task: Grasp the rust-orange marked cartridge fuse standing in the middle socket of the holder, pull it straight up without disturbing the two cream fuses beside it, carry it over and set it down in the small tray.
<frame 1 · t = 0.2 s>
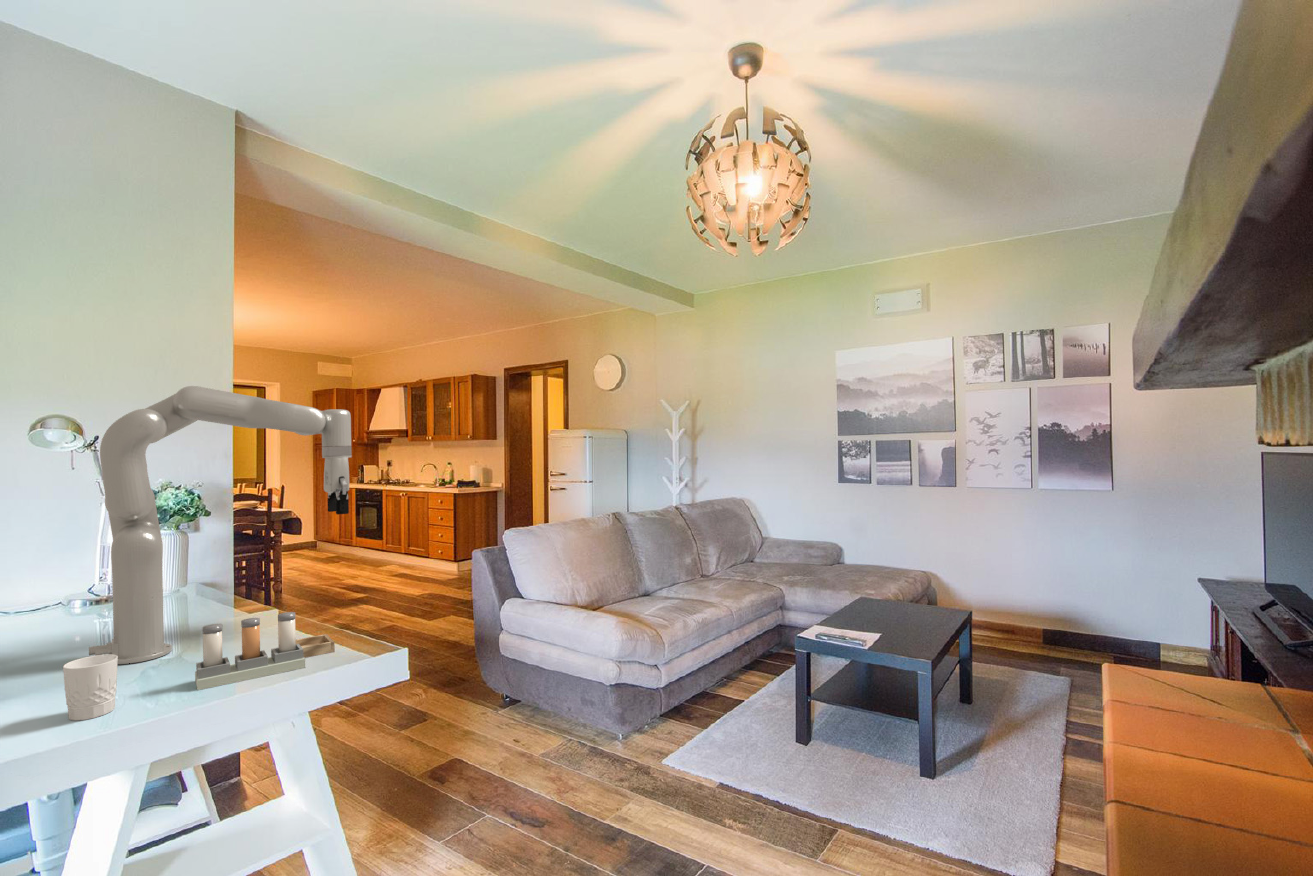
hand: (338, 512, 185), 31 cm above the table, fingers open, 9 cm apart
white cup: (91, 714, 124), on the table
tray: (311, 651, 158), on the table
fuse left: (213, 672, 139), point 2 cm above the table, touching fuse holder
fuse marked: (251, 665, 143), point 2 cm above the table, touching fuse holder
fuse holder: (251, 674, 143), on the table
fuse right: (287, 657, 148), point 2 cm above the table, touching fuse holder
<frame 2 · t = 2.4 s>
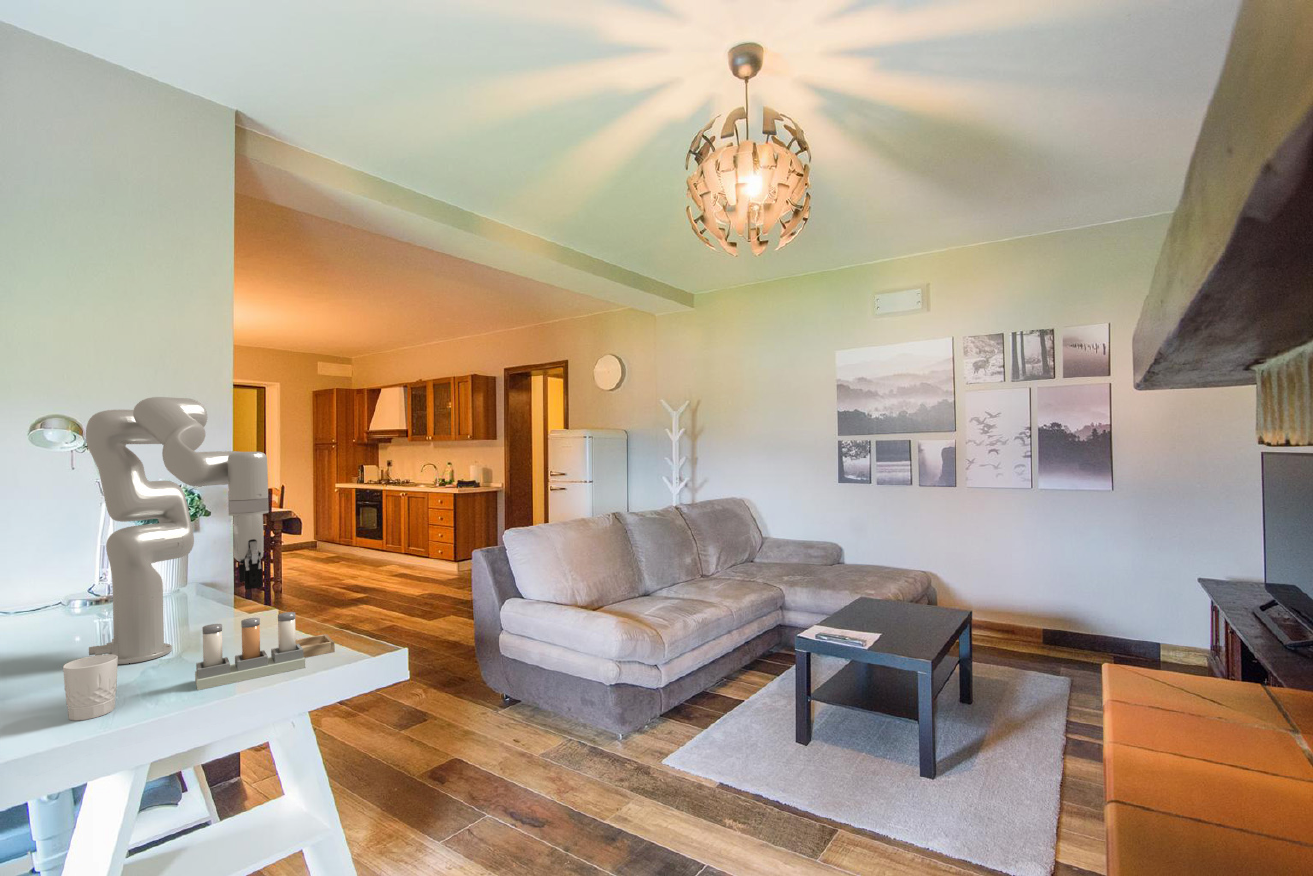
hand: (250, 584, 143), 20 cm above the table, fingers open, 9 cm apart
nothing on the table moved.
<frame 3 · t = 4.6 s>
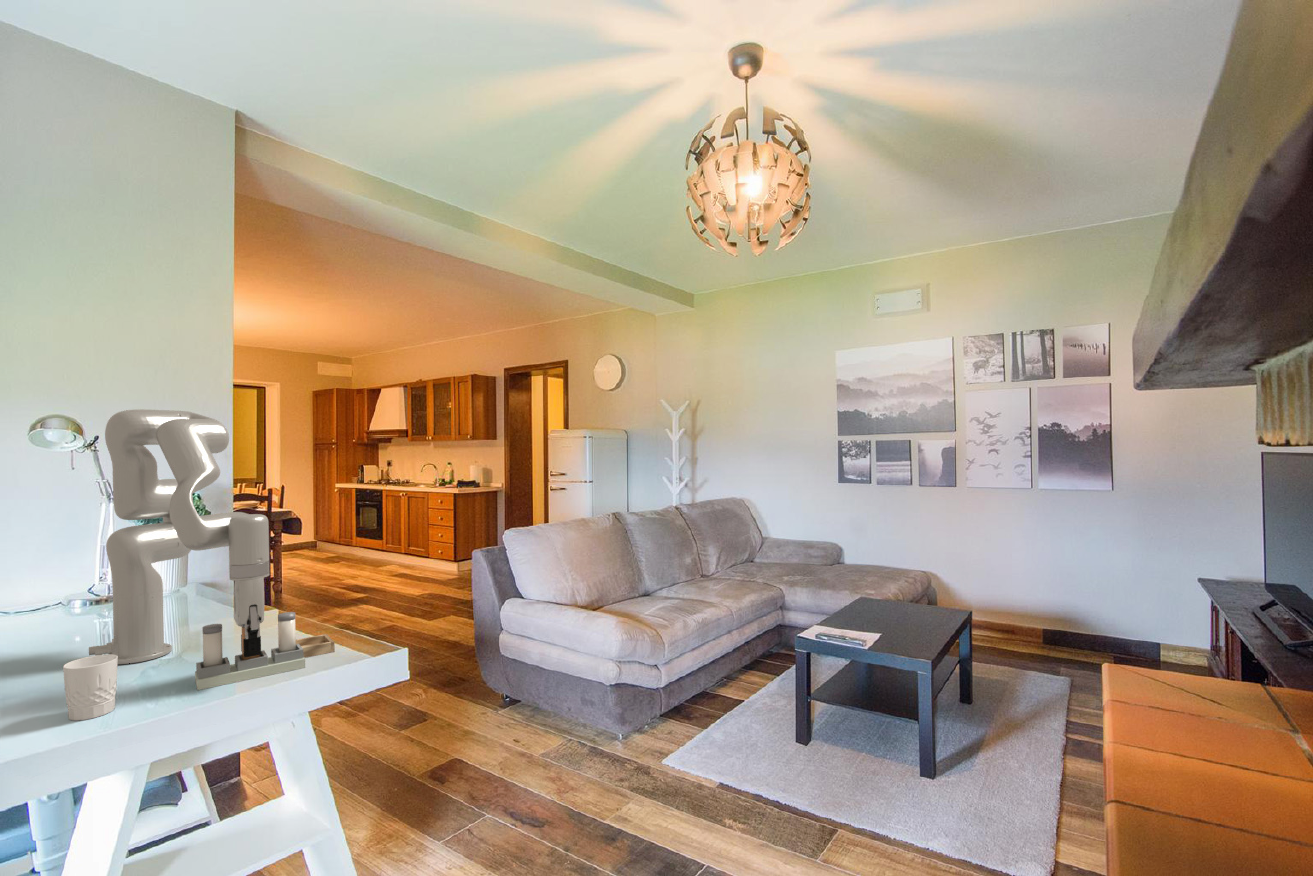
hand: (251, 652, 143), 5 cm above the table, fingers closed on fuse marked, 3 cm apart
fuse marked: (251, 665, 143), point 2 cm above the table, touching fuse holder, gripper
everything else where it was.
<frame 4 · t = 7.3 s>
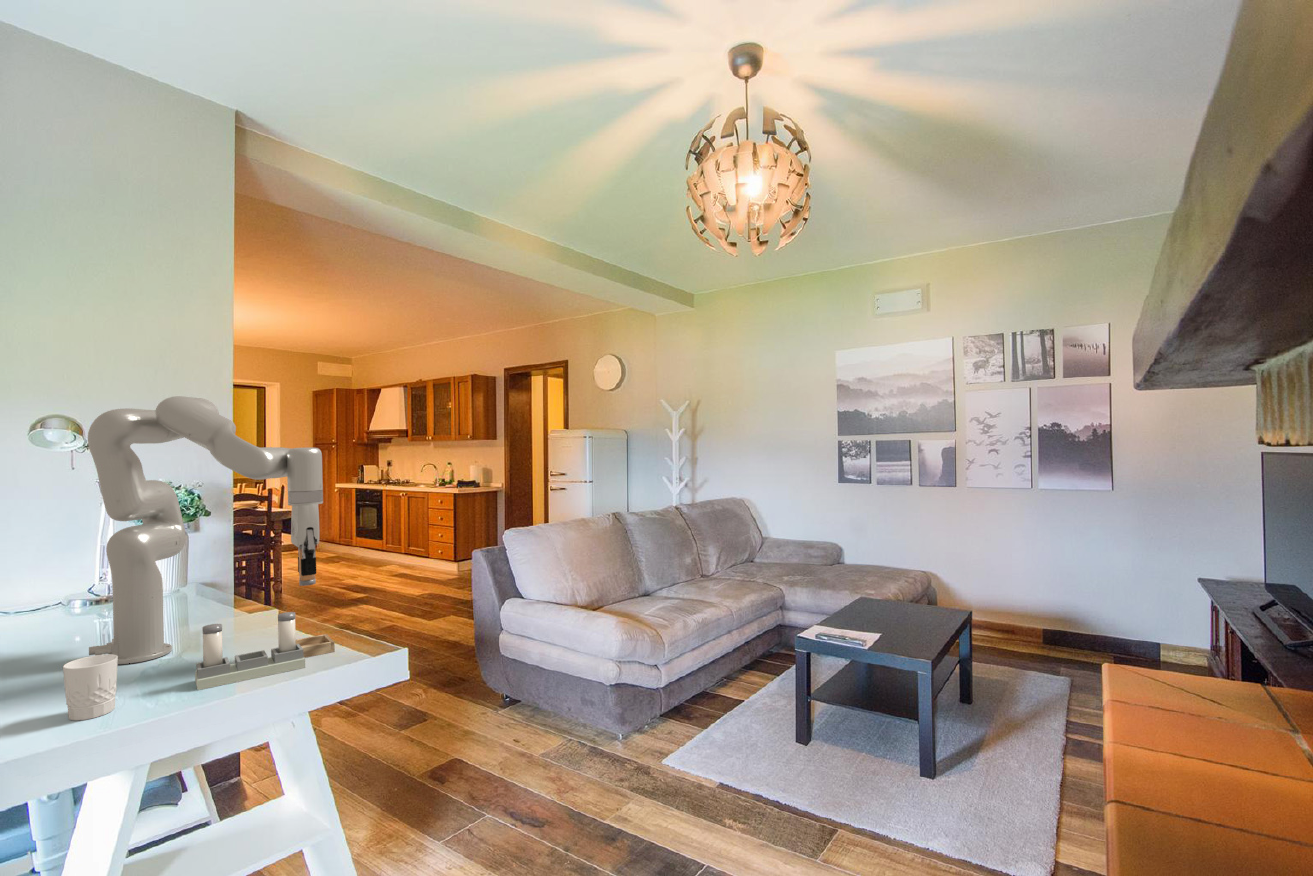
hand: (307, 572, 157), 19 cm above the table, fingers closed on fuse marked, 3 cm apart
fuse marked: (307, 584, 157), point 17 cm above the table, touching gripper
everything else where it was.
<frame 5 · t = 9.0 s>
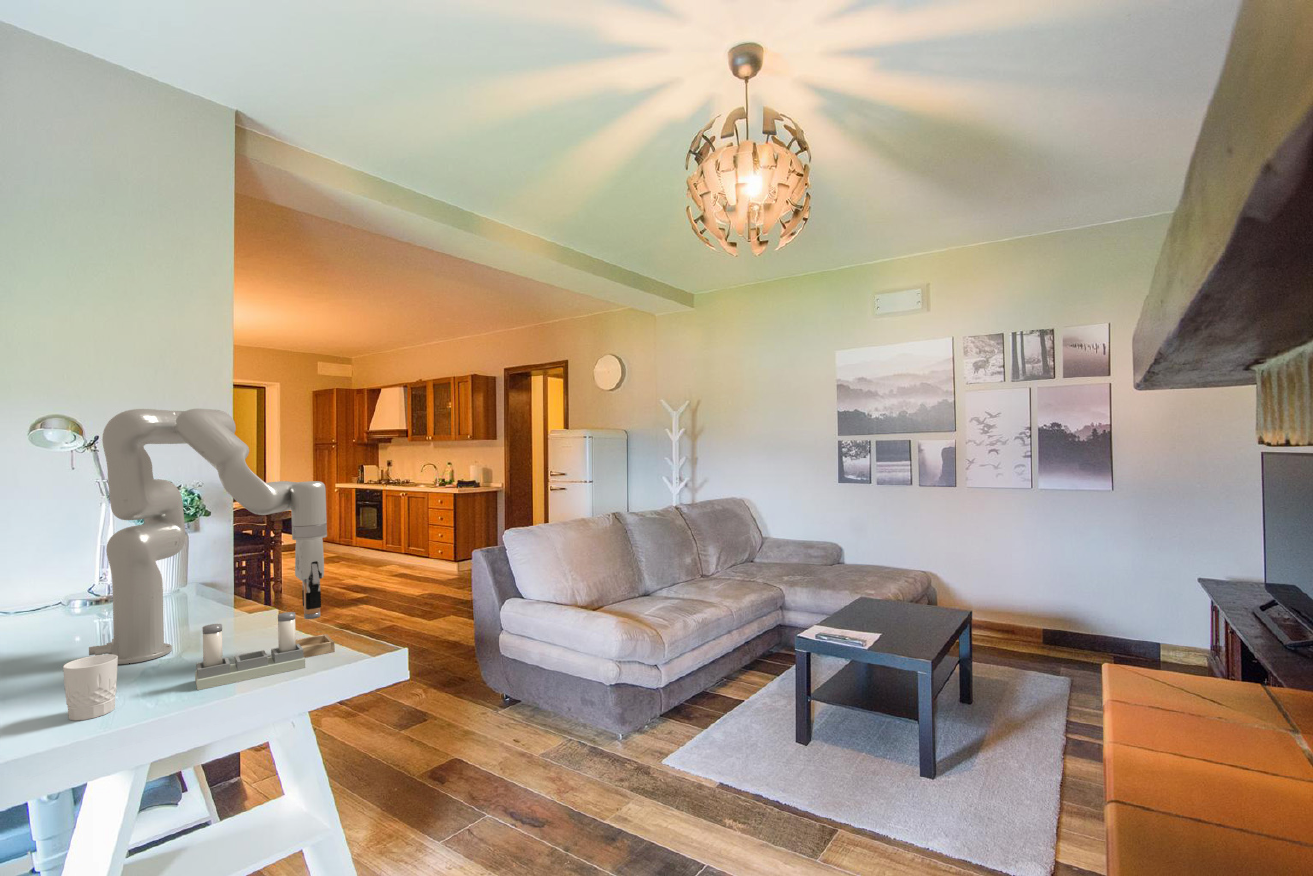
hand: (311, 606, 158), 11 cm above the table, fingers closed on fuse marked, 3 cm apart
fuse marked: (312, 617, 158), point 8 cm above the table, touching gripper
everything else where it was.
when the fingers open (5 cm above the table, at t = 10.5 s): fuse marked stays where it is, resting on tray.
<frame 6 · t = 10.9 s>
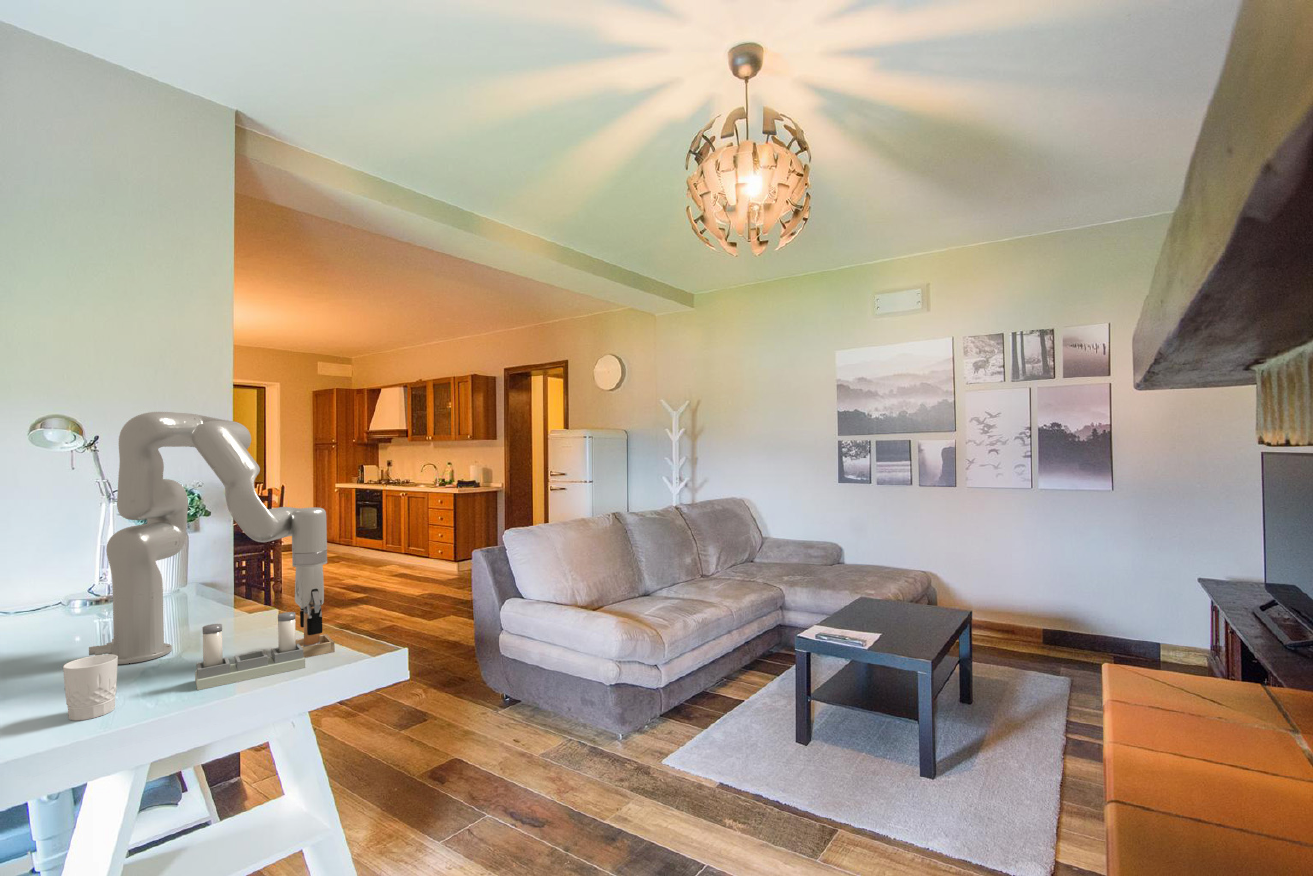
hand: (311, 629, 158), 5 cm above the table, fingers open, 8 cm apart
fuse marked: (311, 647, 158), point 1 cm above the table, touching tray
everything else where it was.
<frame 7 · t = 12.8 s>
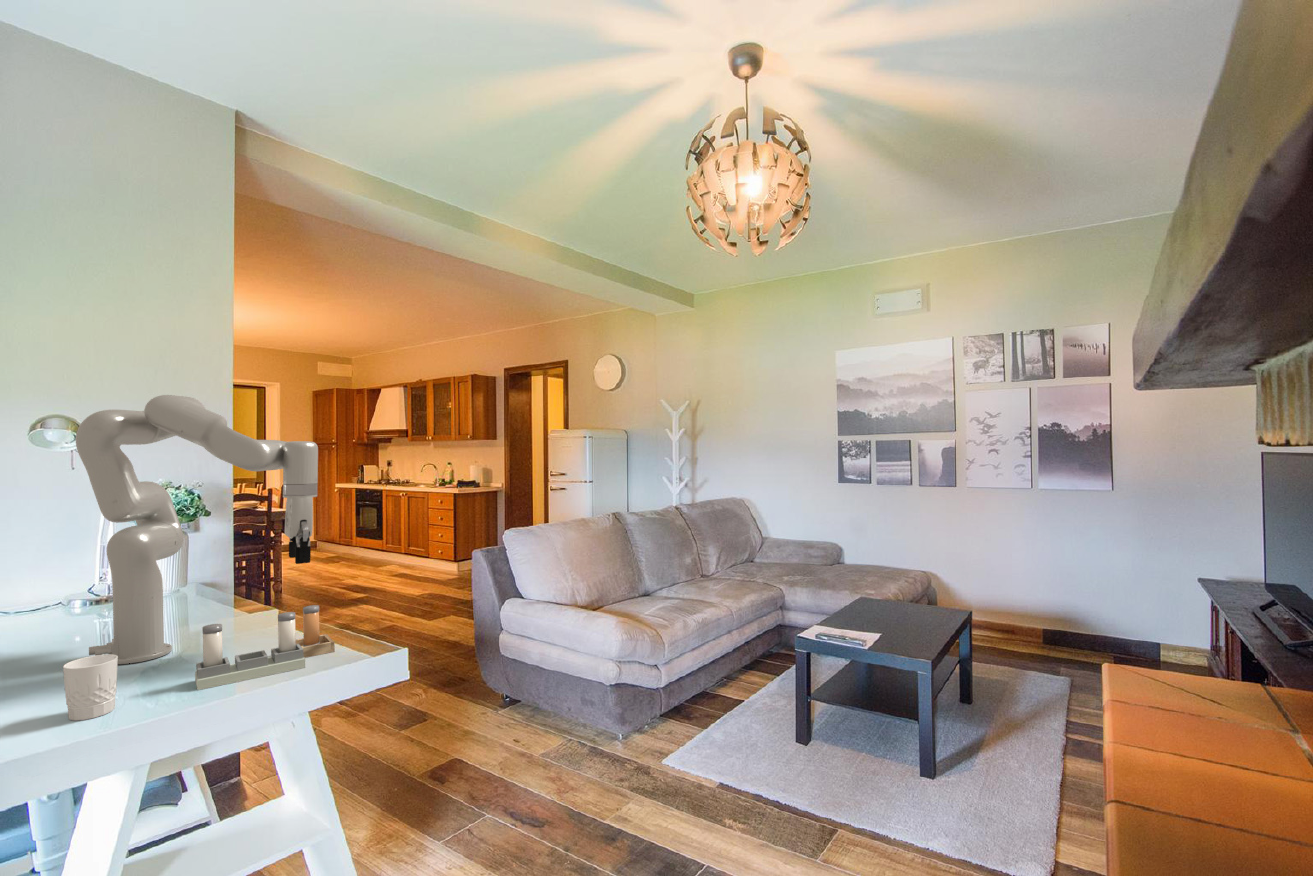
hand: (299, 560, 160), 22 cm above the table, fingers open, 9 cm apart
nothing on the table moved.
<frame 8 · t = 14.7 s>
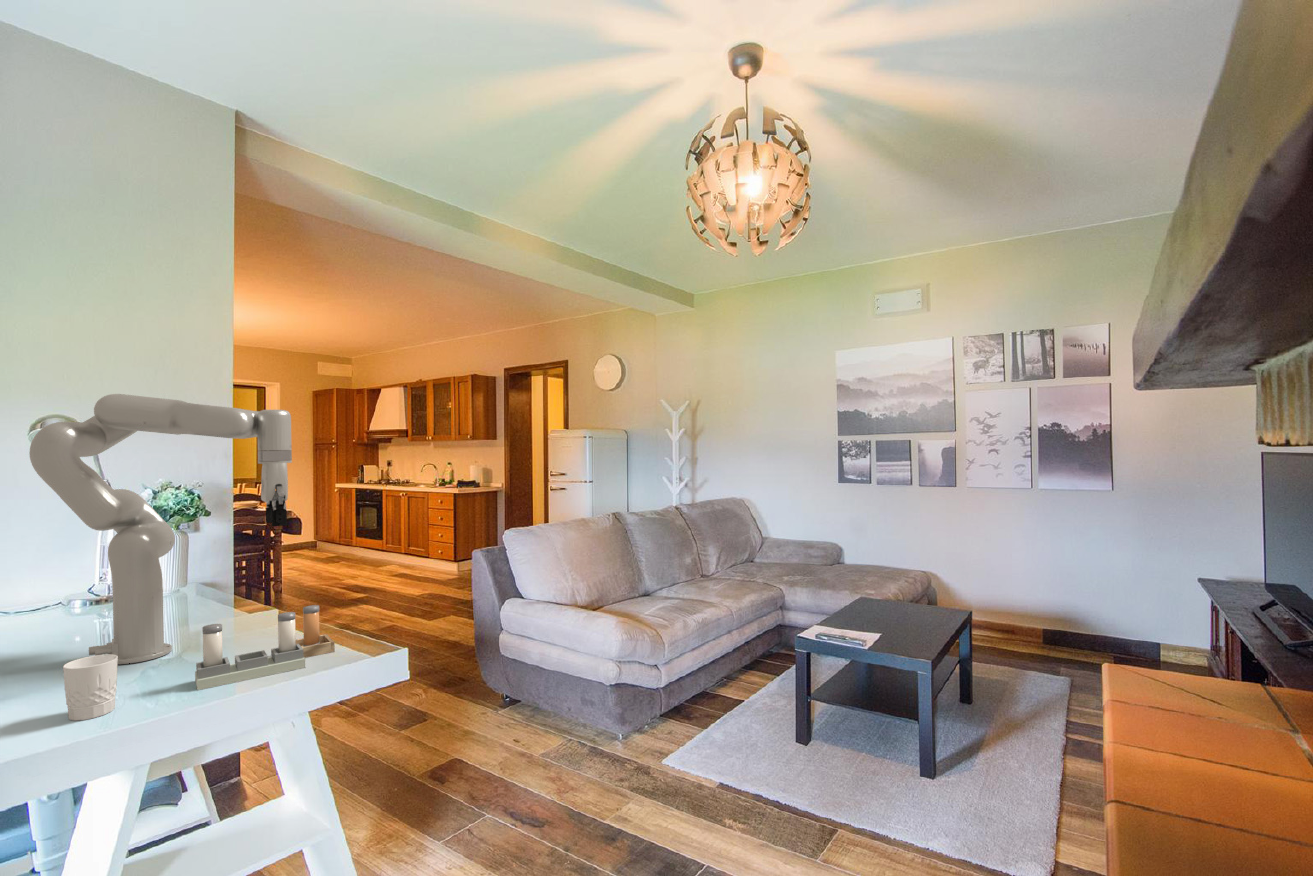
hand: (276, 524, 167), 30 cm above the table, fingers open, 9 cm apart
nothing on the table moved.
at the end: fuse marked inside the target area on the tray (0.0 cm from its centre), point 0.8 cm above the tray's base; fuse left moved 0.0 cm from its start; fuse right moved 0.0 cm from its start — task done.
